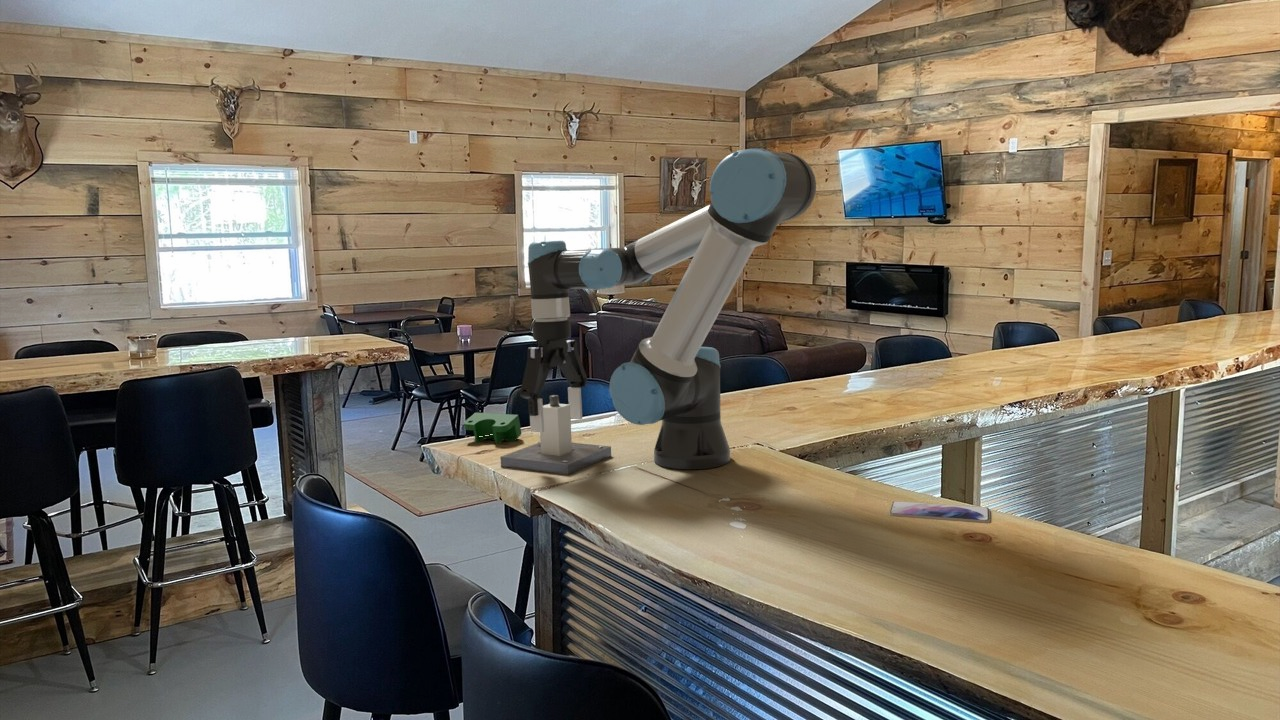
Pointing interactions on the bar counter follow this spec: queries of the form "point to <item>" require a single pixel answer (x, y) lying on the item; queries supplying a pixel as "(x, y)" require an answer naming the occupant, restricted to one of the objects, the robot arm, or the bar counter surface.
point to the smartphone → (940, 511)
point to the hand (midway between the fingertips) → (557, 425)
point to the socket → (556, 458)
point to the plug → (556, 428)
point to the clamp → (494, 426)
